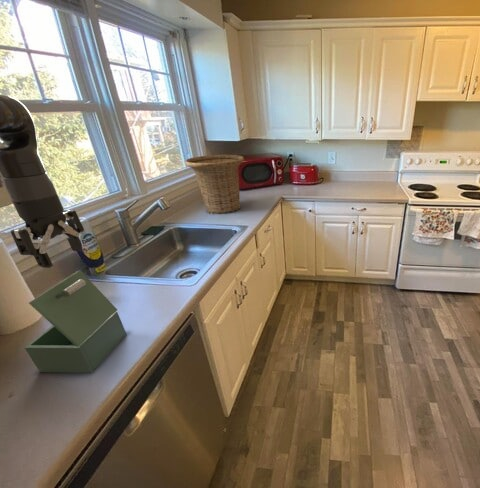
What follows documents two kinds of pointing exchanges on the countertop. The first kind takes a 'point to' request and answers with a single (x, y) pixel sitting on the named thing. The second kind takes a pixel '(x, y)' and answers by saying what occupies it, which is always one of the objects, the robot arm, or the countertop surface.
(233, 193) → the wicker basket
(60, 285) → the bin lid
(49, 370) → the bin
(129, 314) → the countertop surface
